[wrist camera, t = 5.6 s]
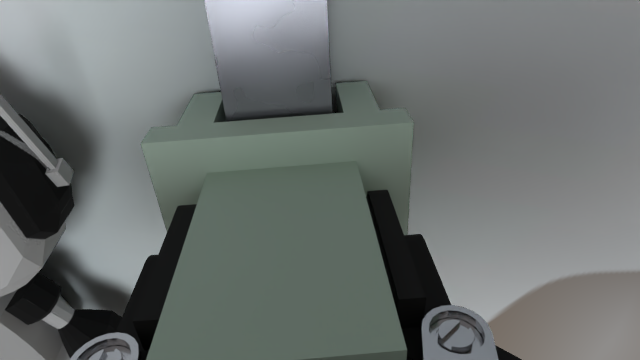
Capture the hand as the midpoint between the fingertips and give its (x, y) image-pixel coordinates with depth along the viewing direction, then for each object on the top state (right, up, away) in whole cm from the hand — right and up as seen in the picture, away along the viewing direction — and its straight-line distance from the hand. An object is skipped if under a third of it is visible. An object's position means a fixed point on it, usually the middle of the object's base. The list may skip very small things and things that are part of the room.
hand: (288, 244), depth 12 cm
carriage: (0, +2, +4) cm, 4 cm away
